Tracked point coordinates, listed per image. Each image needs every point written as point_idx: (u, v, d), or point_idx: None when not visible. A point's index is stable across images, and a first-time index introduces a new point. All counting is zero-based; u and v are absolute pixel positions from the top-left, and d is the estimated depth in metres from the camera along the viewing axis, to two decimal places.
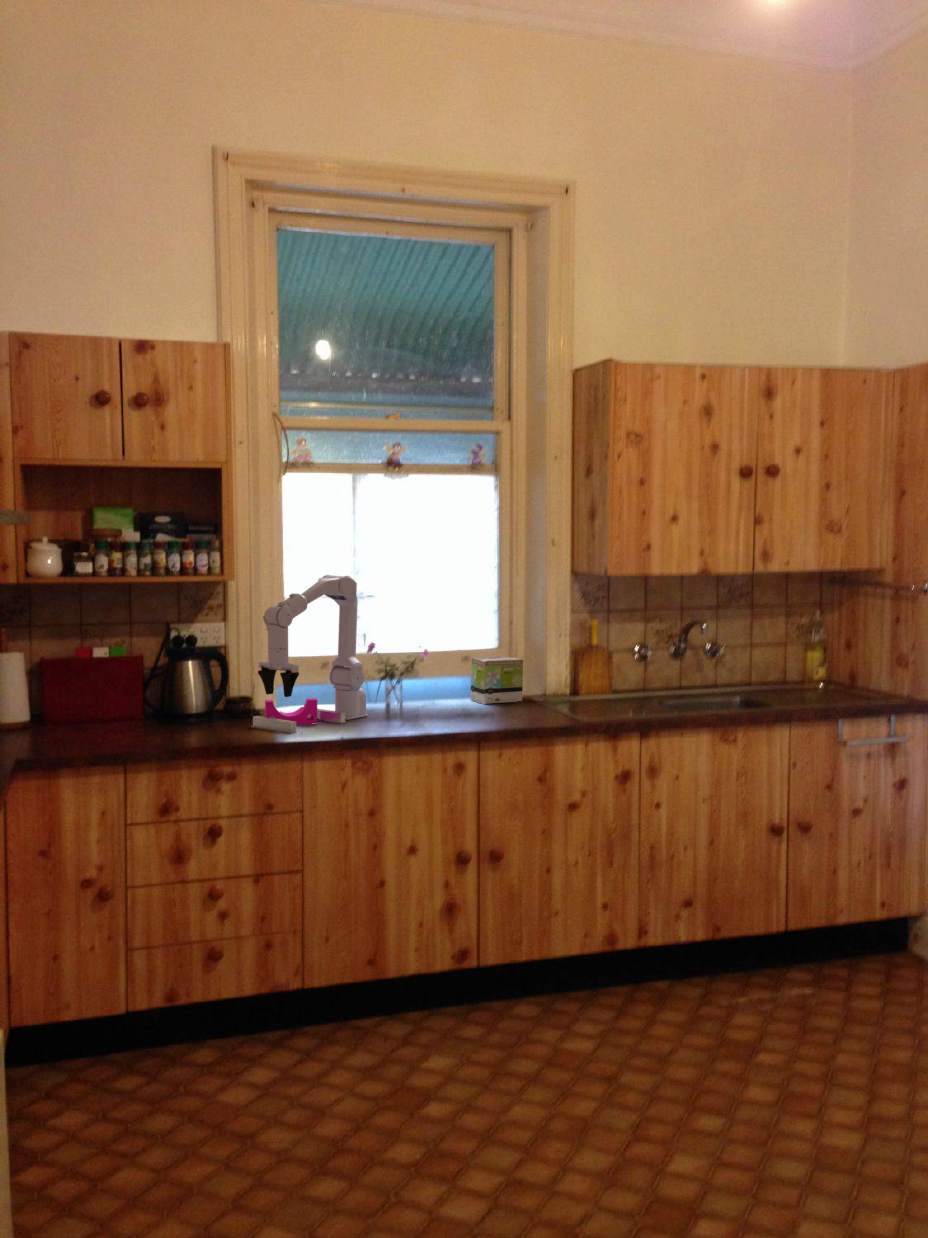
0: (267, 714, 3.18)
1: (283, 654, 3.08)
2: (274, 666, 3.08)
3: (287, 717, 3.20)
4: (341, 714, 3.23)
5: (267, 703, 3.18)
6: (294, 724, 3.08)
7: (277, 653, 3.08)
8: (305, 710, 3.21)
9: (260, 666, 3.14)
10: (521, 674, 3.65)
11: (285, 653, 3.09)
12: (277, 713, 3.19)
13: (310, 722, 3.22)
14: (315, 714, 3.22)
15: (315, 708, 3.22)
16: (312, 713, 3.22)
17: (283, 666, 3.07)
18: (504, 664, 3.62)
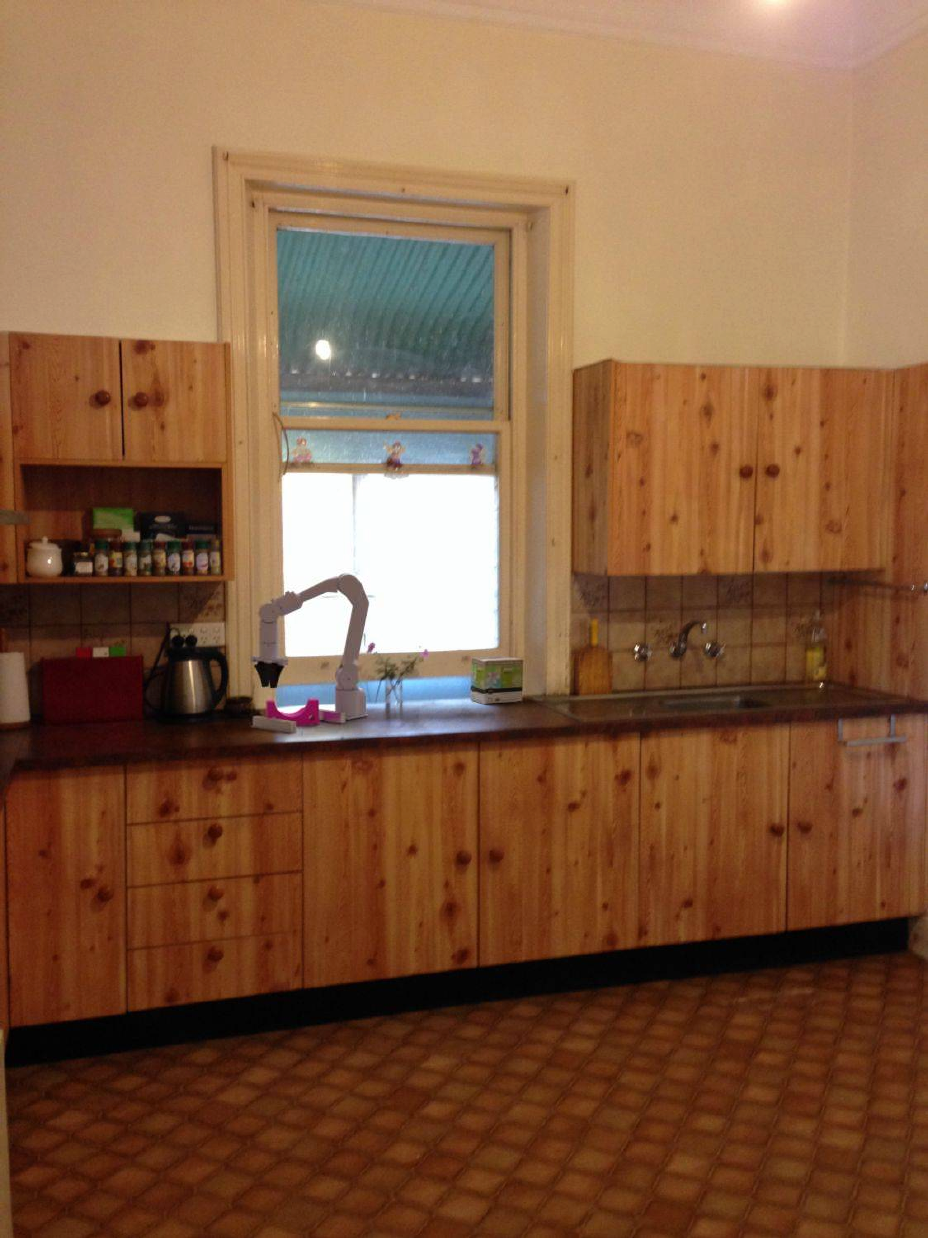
0: (269, 715, 3.17)
1: (273, 648, 3.25)
2: (265, 659, 3.24)
3: (289, 718, 3.19)
4: (341, 714, 3.23)
5: (269, 704, 3.17)
6: (294, 724, 3.08)
7: (268, 647, 3.24)
8: (307, 710, 3.20)
9: (252, 660, 3.31)
10: (521, 674, 3.65)
11: (275, 647, 3.25)
12: (279, 714, 3.18)
13: (312, 722, 3.21)
14: (317, 714, 3.21)
15: (317, 708, 3.21)
16: (314, 713, 3.21)
17: (273, 659, 3.24)
18: (504, 664, 3.62)
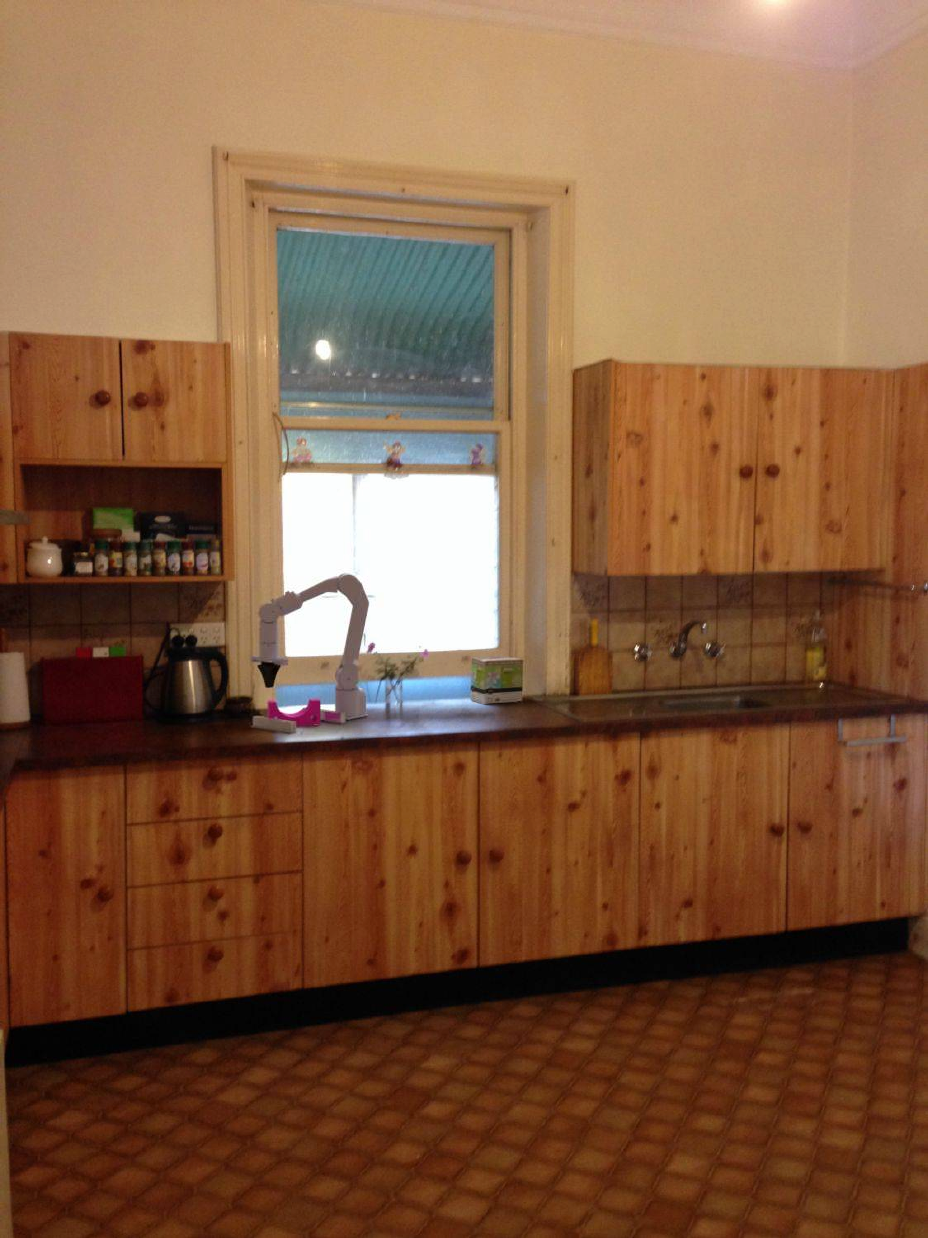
0: (270, 715, 3.16)
1: (273, 648, 3.25)
2: (265, 659, 3.24)
3: (290, 718, 3.18)
4: (341, 714, 3.23)
5: (270, 704, 3.16)
6: (294, 724, 3.08)
7: (268, 647, 3.24)
8: (308, 711, 3.20)
9: (252, 660, 3.31)
10: (521, 674, 3.65)
11: (275, 647, 3.25)
12: (280, 714, 3.17)
13: (313, 723, 3.20)
14: (318, 715, 3.21)
15: (318, 709, 3.21)
16: (315, 714, 3.20)
17: (273, 659, 3.24)
18: (504, 664, 3.62)
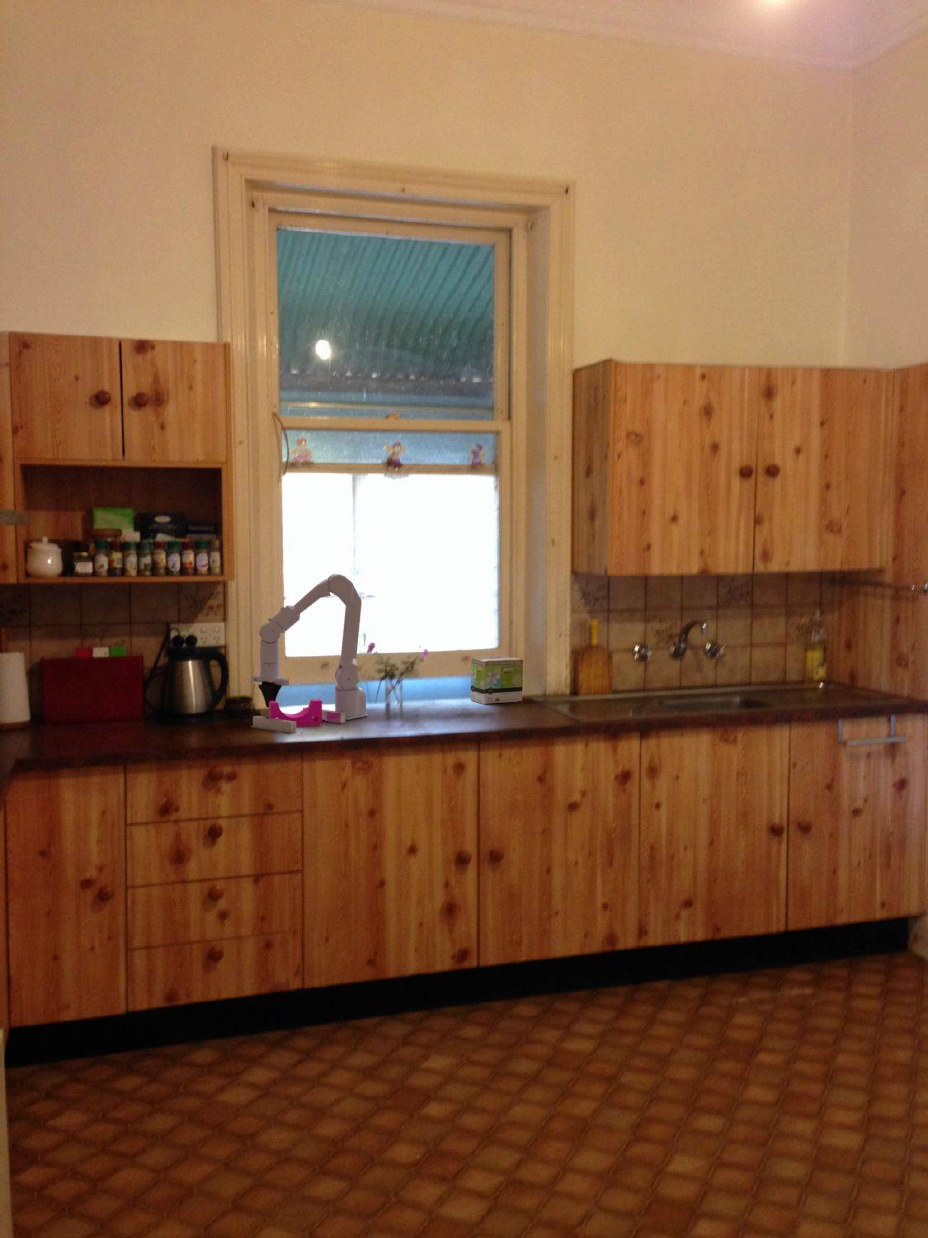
0: (272, 716, 3.15)
1: (274, 668, 3.25)
2: (266, 679, 3.25)
3: (292, 718, 3.17)
4: (341, 714, 3.23)
5: (272, 704, 3.15)
6: (294, 724, 3.08)
7: (269, 667, 3.25)
8: (310, 711, 3.19)
9: (253, 679, 3.31)
10: (521, 674, 3.65)
11: (276, 667, 3.26)
12: (282, 714, 3.16)
13: (315, 723, 3.20)
14: (320, 715, 3.20)
15: (320, 709, 3.20)
16: (317, 714, 3.20)
17: (274, 679, 3.24)
18: (504, 664, 3.62)
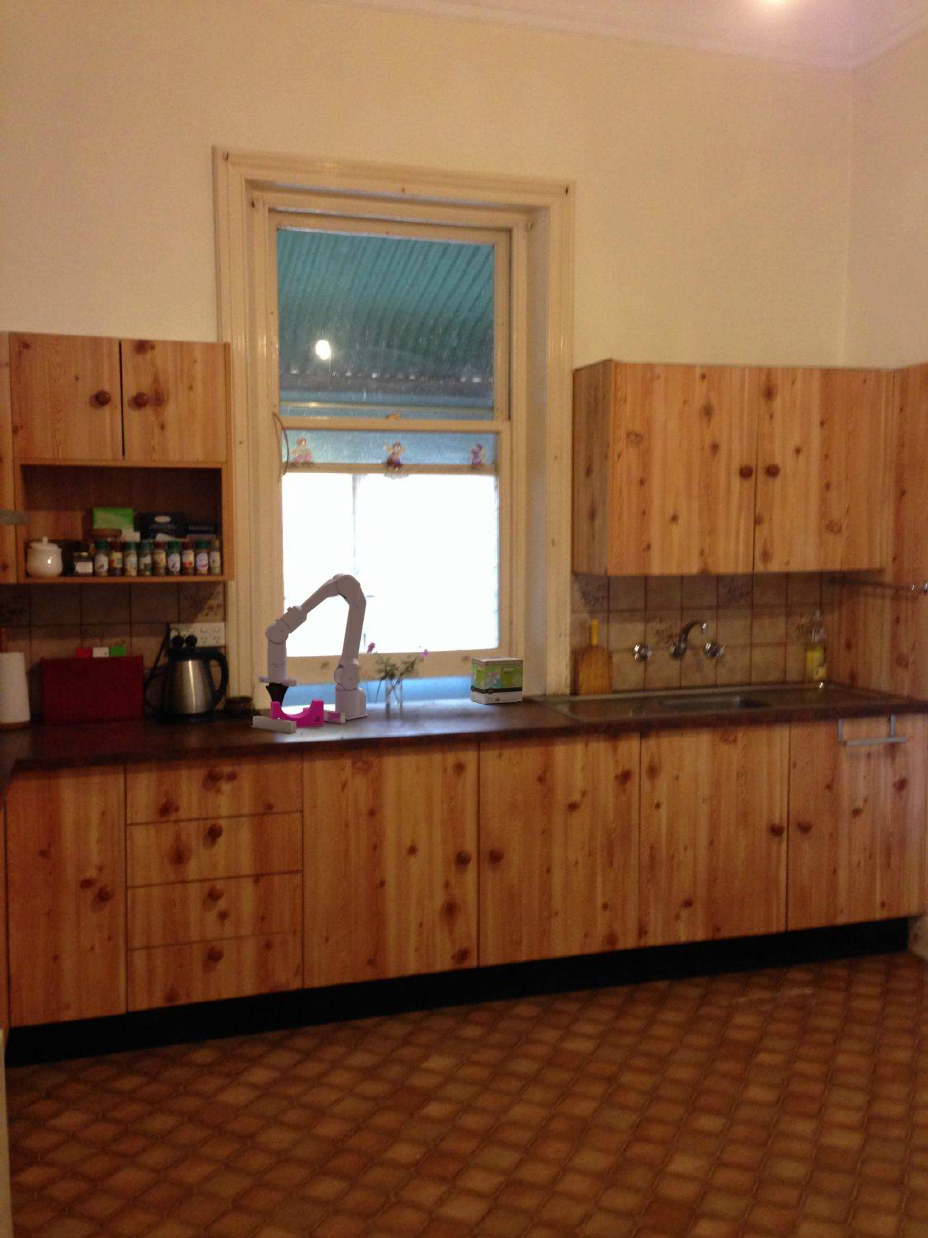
0: (274, 716, 3.15)
1: (281, 669, 3.23)
2: (273, 680, 3.23)
3: (294, 719, 3.17)
4: (341, 714, 3.23)
5: (274, 705, 3.14)
6: (294, 724, 3.08)
7: (276, 668, 3.23)
8: (312, 711, 3.19)
9: (260, 680, 3.29)
10: (521, 674, 3.65)
11: (284, 668, 3.24)
12: (284, 715, 3.16)
13: (317, 723, 3.19)
14: (321, 715, 3.20)
15: (321, 709, 3.20)
16: (319, 714, 3.19)
17: (282, 680, 3.22)
18: (504, 664, 3.62)
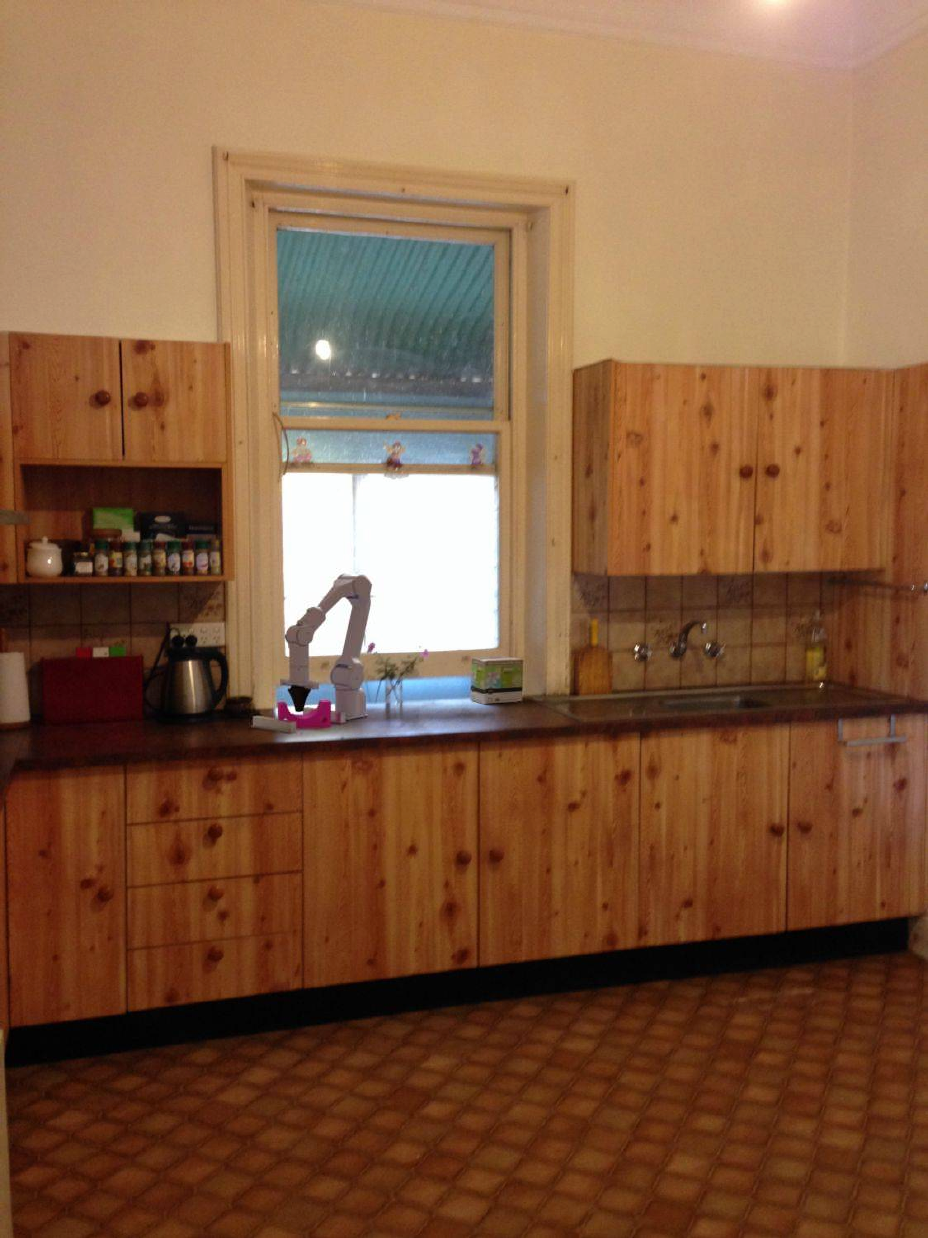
0: (281, 717, 3.13)
1: (304, 672, 3.18)
2: (295, 683, 3.17)
3: (301, 719, 3.15)
4: (341, 714, 3.23)
5: (281, 705, 3.13)
6: (294, 724, 3.08)
7: (298, 670, 3.17)
8: (319, 712, 3.17)
9: (281, 683, 3.23)
10: (521, 674, 3.65)
11: (306, 671, 3.18)
12: (291, 715, 3.14)
13: (324, 724, 3.17)
14: (329, 716, 3.18)
15: (329, 710, 3.18)
16: (326, 715, 3.17)
17: (304, 683, 3.16)
18: (504, 664, 3.62)
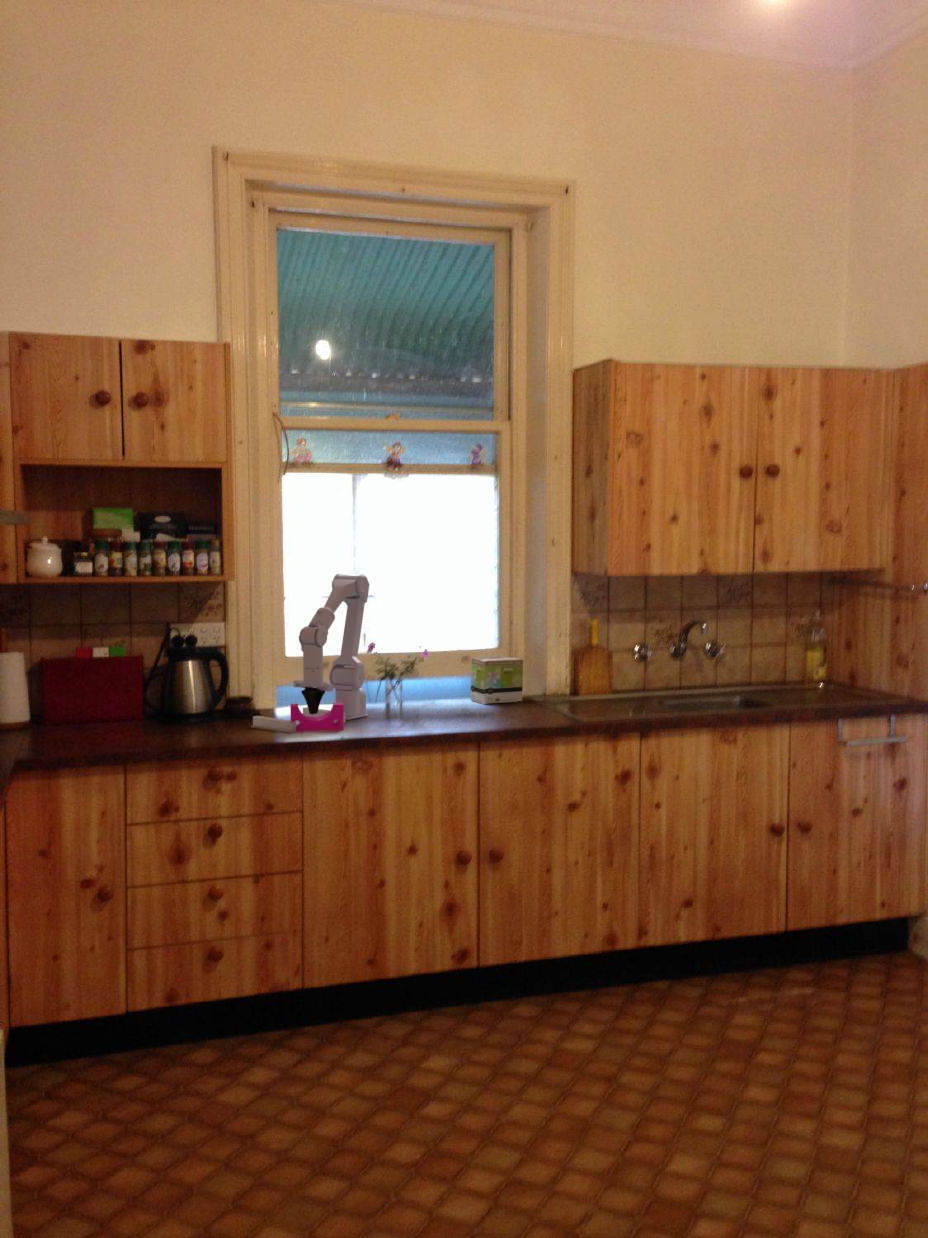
0: (292, 718, 3.10)
1: (318, 673, 3.14)
2: (309, 685, 3.13)
3: (312, 722, 3.11)
4: None
5: (292, 707, 3.10)
6: (294, 724, 3.08)
7: (313, 672, 3.13)
8: (331, 715, 3.12)
9: (295, 685, 3.20)
10: (521, 674, 3.65)
11: (320, 672, 3.15)
12: (302, 718, 3.11)
13: (336, 727, 3.13)
14: (341, 719, 3.13)
15: (341, 713, 3.13)
16: (338, 718, 3.13)
17: (318, 685, 3.13)
18: (504, 664, 3.62)
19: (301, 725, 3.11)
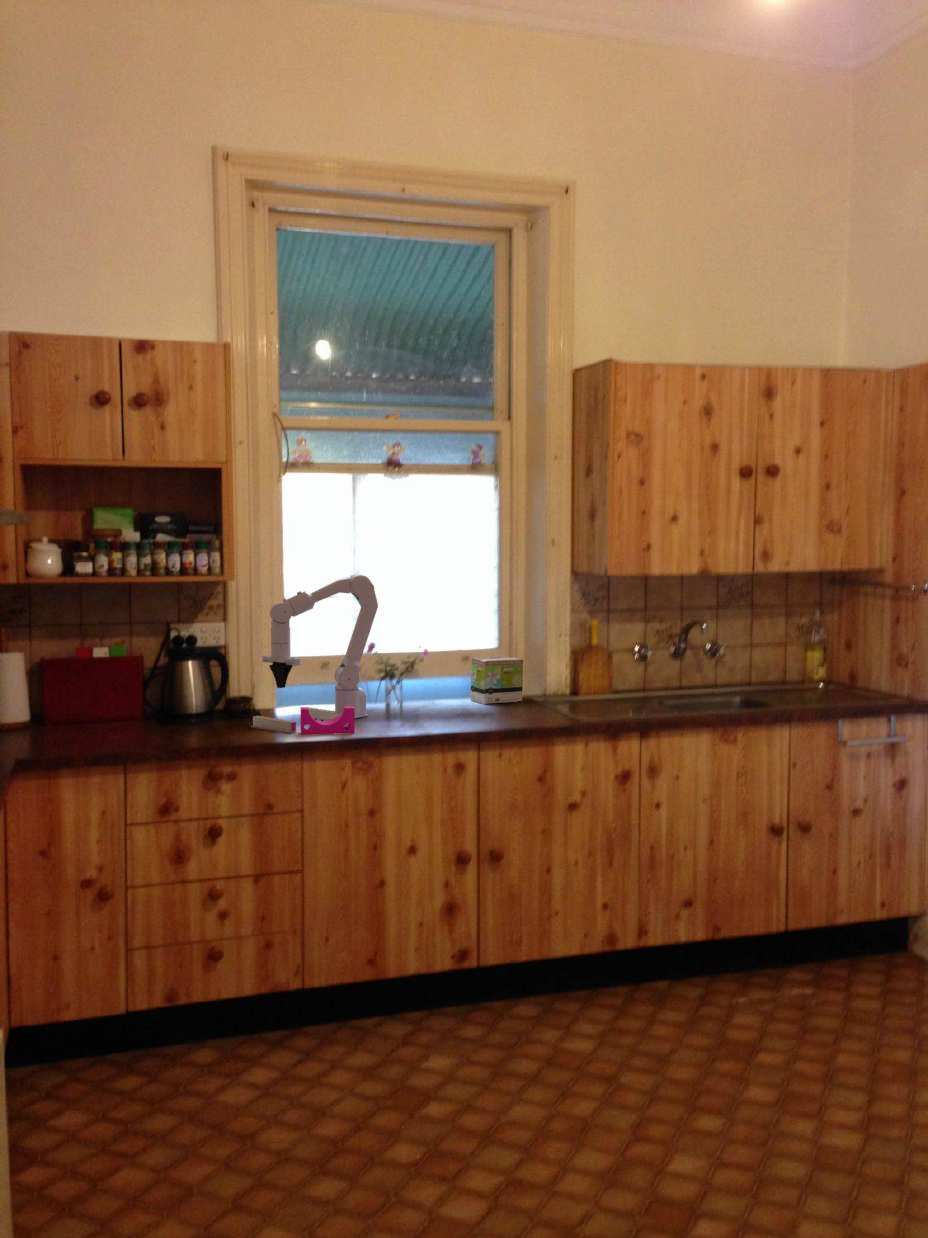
0: (302, 722, 3.05)
1: (285, 648, 3.25)
2: (277, 660, 3.24)
3: (323, 726, 3.06)
4: None
5: (302, 711, 3.05)
6: (294, 724, 3.08)
7: (280, 647, 3.24)
8: (342, 719, 3.07)
9: (263, 660, 3.30)
10: (521, 674, 3.65)
11: (287, 647, 3.25)
12: (312, 721, 3.06)
13: (347, 731, 3.08)
14: (352, 723, 3.08)
15: (352, 717, 3.08)
16: (349, 722, 3.08)
17: (285, 660, 3.23)
18: (504, 664, 3.62)
19: (311, 729, 3.06)
